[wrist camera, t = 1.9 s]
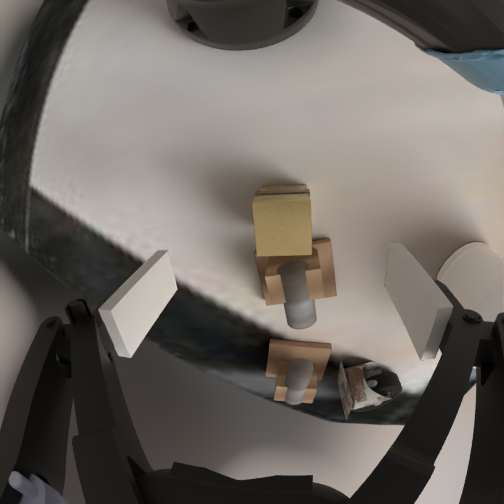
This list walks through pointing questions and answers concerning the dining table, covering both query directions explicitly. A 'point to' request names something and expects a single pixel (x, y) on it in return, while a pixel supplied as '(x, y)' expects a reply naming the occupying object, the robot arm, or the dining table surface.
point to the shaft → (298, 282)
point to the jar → (476, 279)
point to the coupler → (283, 221)
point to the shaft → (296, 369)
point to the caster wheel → (366, 387)
